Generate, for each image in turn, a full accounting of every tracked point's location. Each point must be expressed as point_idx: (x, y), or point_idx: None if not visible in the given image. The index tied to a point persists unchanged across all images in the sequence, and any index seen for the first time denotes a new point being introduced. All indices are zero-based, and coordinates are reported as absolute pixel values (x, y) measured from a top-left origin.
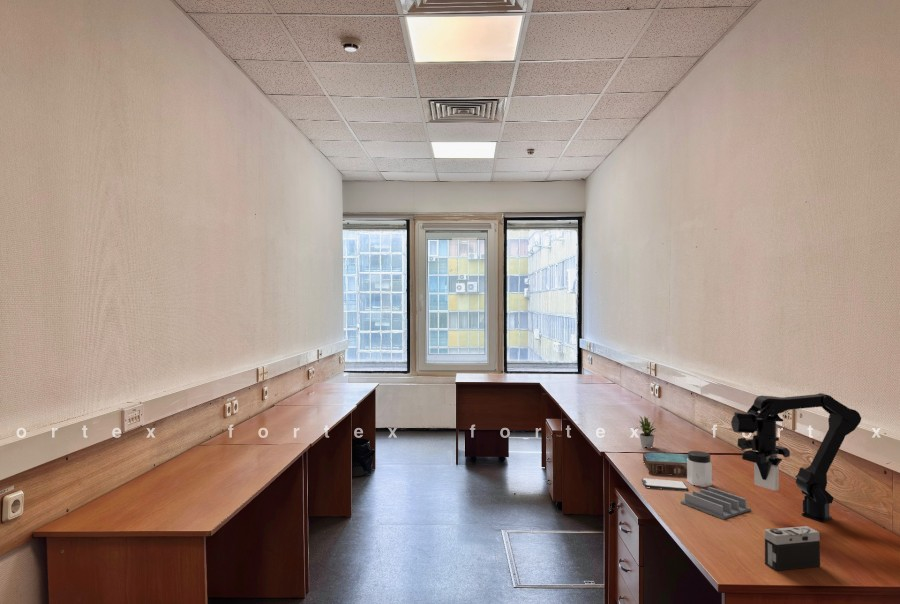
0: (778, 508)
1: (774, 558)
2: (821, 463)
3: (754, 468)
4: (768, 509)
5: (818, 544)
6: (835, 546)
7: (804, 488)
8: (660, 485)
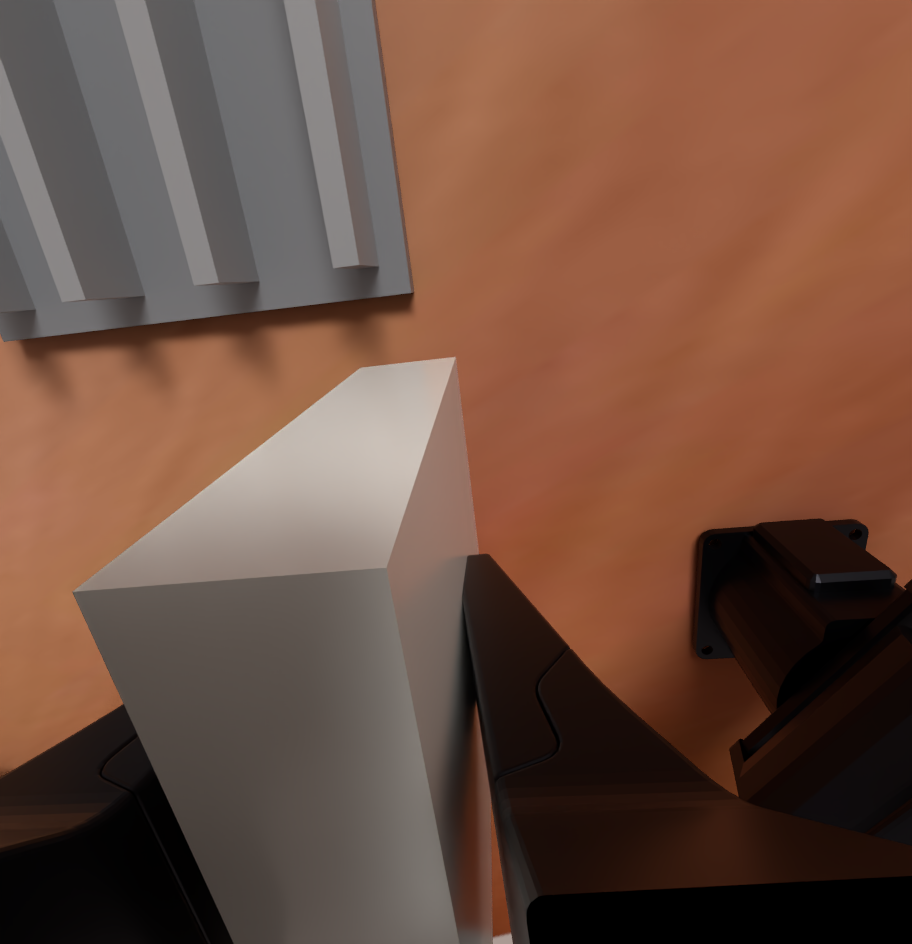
0: (697, 360)
1: None
2: None
3: (245, 468)
4: (588, 340)
5: None
6: None
7: (774, 780)
8: None
